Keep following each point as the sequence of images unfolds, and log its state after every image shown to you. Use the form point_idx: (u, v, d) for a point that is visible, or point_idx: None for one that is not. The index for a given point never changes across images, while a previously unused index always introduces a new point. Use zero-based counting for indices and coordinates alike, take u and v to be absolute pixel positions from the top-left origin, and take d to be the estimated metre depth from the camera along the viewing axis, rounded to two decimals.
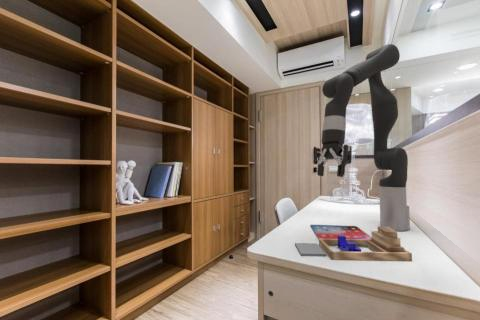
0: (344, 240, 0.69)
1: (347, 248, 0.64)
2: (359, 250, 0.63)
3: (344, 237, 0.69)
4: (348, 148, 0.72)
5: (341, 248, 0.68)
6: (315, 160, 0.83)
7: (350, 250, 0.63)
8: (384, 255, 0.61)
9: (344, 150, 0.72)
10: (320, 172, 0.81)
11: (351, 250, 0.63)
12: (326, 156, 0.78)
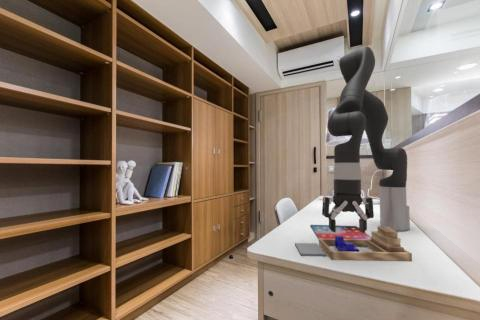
0: (342, 240, 0.69)
1: (345, 248, 0.63)
2: (357, 250, 0.63)
3: (342, 237, 0.69)
4: None
5: (339, 248, 0.68)
6: (327, 213, 0.66)
7: (348, 250, 0.63)
8: (384, 255, 0.61)
9: (370, 204, 0.66)
10: None
11: (349, 250, 0.63)
12: (344, 209, 0.66)
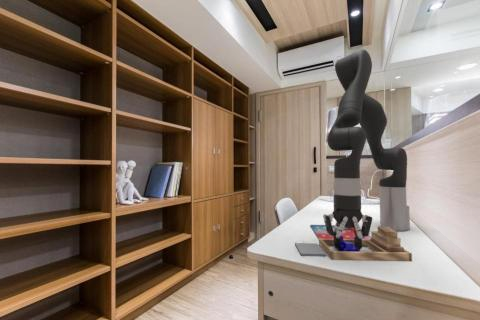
0: (341, 240, 0.69)
1: (345, 248, 0.63)
2: (357, 250, 0.62)
3: (341, 237, 0.69)
4: None
5: None
6: (332, 231, 0.66)
7: (348, 250, 0.62)
8: (384, 255, 0.61)
9: (368, 222, 0.65)
10: None
11: (349, 250, 0.62)
12: (346, 224, 0.66)
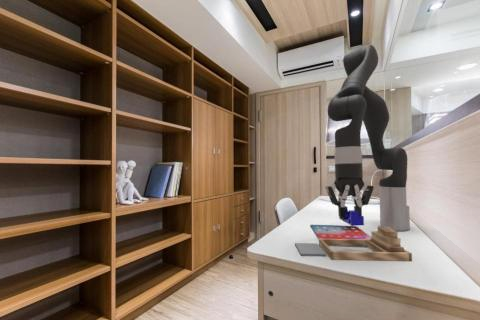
0: (346, 210, 0.69)
1: (349, 216, 0.63)
2: (361, 217, 0.63)
3: (345, 207, 0.69)
4: None
5: None
6: (337, 201, 0.66)
7: (353, 217, 0.63)
8: (384, 255, 0.61)
9: (369, 191, 0.66)
10: None
11: (354, 217, 0.63)
12: (349, 192, 0.66)
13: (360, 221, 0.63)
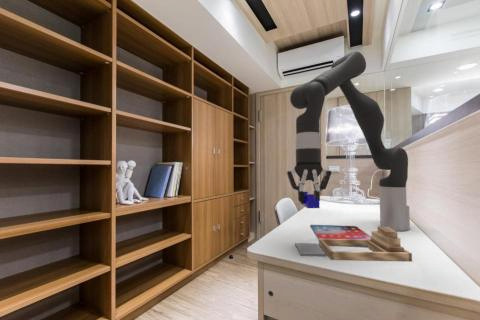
0: (306, 195, 0.71)
1: (306, 199, 0.65)
2: (317, 200, 0.65)
3: (306, 192, 0.71)
4: None
5: None
6: (296, 185, 0.68)
7: (309, 200, 0.65)
8: (384, 255, 0.61)
9: (327, 176, 0.68)
10: None
11: (309, 200, 0.65)
12: (308, 177, 0.68)
13: (316, 204, 0.64)
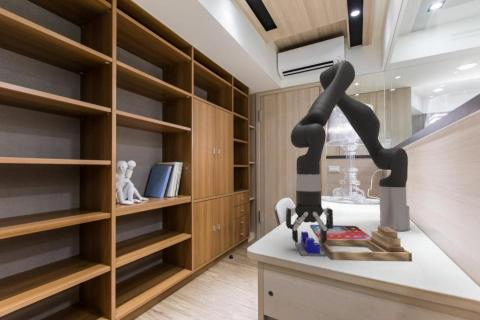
0: (306, 236, 0.70)
1: (306, 244, 0.65)
2: (317, 246, 0.64)
3: (306, 233, 0.71)
4: None
5: (303, 244, 0.69)
6: (289, 224, 0.68)
7: (309, 246, 0.64)
8: (384, 255, 0.61)
9: (330, 215, 0.67)
10: None
11: (310, 246, 0.64)
12: (306, 220, 0.68)
13: (316, 249, 0.64)
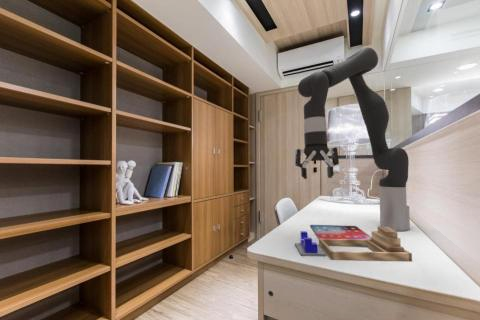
0: (305, 236, 0.71)
1: (304, 243, 0.65)
2: (315, 245, 0.64)
3: (306, 233, 0.71)
4: None
5: (302, 243, 0.70)
6: (299, 162, 0.76)
7: (306, 245, 0.65)
8: (384, 255, 0.61)
9: (335, 152, 0.76)
10: None
11: (307, 245, 0.65)
12: (313, 158, 0.76)
13: (314, 249, 0.64)
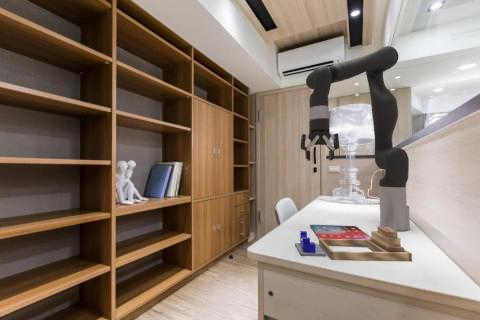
0: (305, 236, 0.71)
1: (302, 243, 0.66)
2: (313, 245, 0.65)
3: (305, 233, 0.71)
4: None
5: (301, 243, 0.70)
6: (304, 146, 0.86)
7: (304, 245, 0.65)
8: (384, 255, 0.61)
9: (336, 138, 0.85)
10: None
11: (305, 245, 0.65)
12: (317, 142, 0.86)
13: (312, 249, 0.65)
